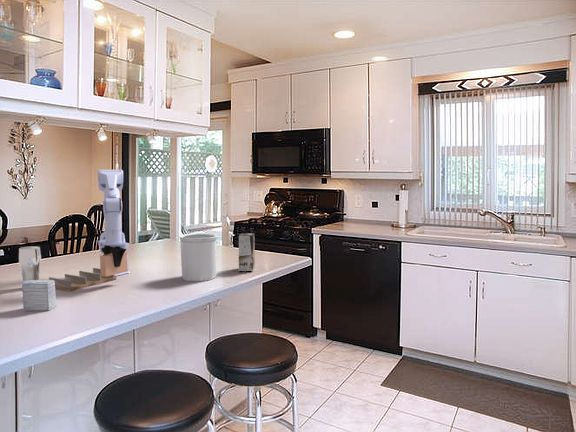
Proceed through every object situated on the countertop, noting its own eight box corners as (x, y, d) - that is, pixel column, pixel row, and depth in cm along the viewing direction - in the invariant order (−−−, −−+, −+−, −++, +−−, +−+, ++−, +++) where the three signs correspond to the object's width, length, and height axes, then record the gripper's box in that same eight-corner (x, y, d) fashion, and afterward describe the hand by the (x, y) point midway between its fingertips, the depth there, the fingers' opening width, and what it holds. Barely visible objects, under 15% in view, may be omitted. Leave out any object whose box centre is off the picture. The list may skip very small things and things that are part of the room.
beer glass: (17, 290, 154) (15, 249, 153) (23, 286, 161) (21, 246, 160) (39, 289, 156) (37, 248, 155) (44, 285, 163) (42, 245, 161)
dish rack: (94, 275, 178) (94, 267, 178) (116, 279, 172) (116, 270, 172) (47, 286, 160) (46, 277, 160) (70, 291, 154) (69, 281, 154)
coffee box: (253, 272, 187) (253, 235, 186) (238, 272, 187) (238, 235, 186) (255, 267, 196) (255, 232, 195) (241, 267, 197) (240, 232, 195)
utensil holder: (209, 283, 168) (208, 238, 166) (174, 280, 171) (173, 237, 169) (222, 274, 182) (222, 233, 181) (189, 272, 185) (189, 232, 184)
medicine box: (56, 306, 136) (55, 279, 135) (49, 311, 132) (48, 283, 131) (31, 306, 136) (29, 279, 135) (22, 311, 131) (21, 283, 131)
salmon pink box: (122, 270, 167) (121, 251, 166) (127, 271, 166) (127, 252, 165) (100, 275, 158) (99, 255, 158) (105, 276, 157) (105, 256, 156)
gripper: (90, 230, 160) (92, 266, 162) (118, 232, 154) (119, 270, 155) (106, 228, 167) (107, 262, 168) (133, 230, 160) (134, 266, 161)
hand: (114, 266), depth 162 cm, fingers closed on salmon pink box, 3 cm apart
